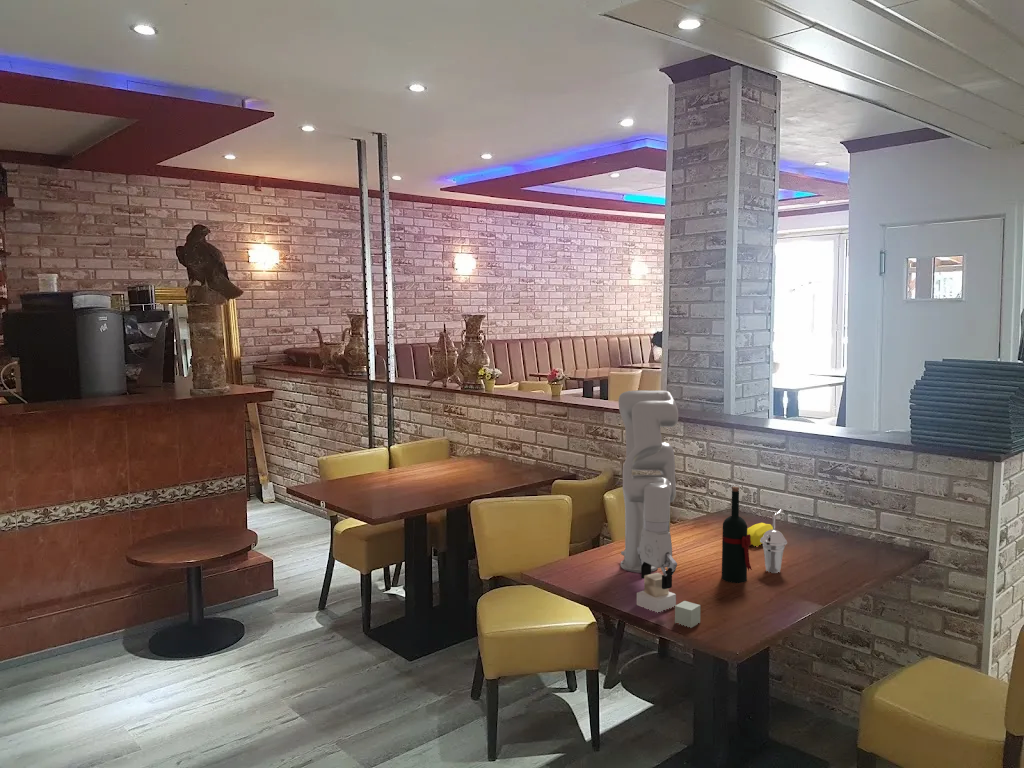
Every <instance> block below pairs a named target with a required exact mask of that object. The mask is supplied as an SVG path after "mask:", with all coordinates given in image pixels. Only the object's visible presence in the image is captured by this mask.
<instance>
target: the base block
mask: <svg viewBox="0 0 1024 768" xmlns="http://www.w3.org/2000/svg"><path fill="white" fill-rule="evenodd" d="M676 605H677V594H676V593H674V592H672V591H669V594H667V595H663V596H659V597H653V596H651V595H649V594H647V593H645V592H644V590H642V591H641V590H640V591H639V592H636V606H639V607H641V608H643V607H644V609H645V610H648V609H649V610H648V611H651V610H652V611H651V612H653V611H655V612H654V613H656V612H657V613H656V614H659V613H658V612H660V613H662V612H664V611H663V610H665V611H667V610H666V609H668V610H670V609H672V607H673V608H675V607H674V606H676ZM669 608H670V609H669ZM661 611H662V612H661Z"/></svg>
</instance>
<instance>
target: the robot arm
mask: <svg viewBox="0 0 1024 768" xmlns="http://www.w3.org/2000/svg"><path fill="white" fill-rule="evenodd" d="M618 410H619V414H620V416H621V420H622V422H623V426H624V429H625V455H626V456H625V457H626V458H625V460H624V462H623V466H622V492H623V493H622V494H623V500H624V511H625V512H624V519H625V520H624V522H625V525H624V527H625V528H624V529H625V530H624V531H625V532H624V534H625V535H624V547H625V548H624V550H621V551H620V555H622V556H623V560H621V561H620V568H621V569H622V570H624V571H627V572H632V573H640V575H641V576H640V577H641V579H642V580H643V579H644V575H649V574H652V573H653V572H655V571H656V570H658V569H660V570H661V572H662V589H668V588H669V589H671V588H673V575H674V573H675V572H676V569H677V566H678V563H677V561H676V560H675V559H674V558H673V544H672V543H673V542H672V536H671V532H670V531H671V503H673V502H674V500H675V498H676V494H677V493H676V490H677V487H676V482H677V481H676V462H675V461H676V459H675V457H676V456H675V452H674V448H673V445H671V444H670V443H668V442H665V441H663V440H662V439H663V438H662V431H661V428H672V427H676V426H677V424H678V421H679V409H678V406H677V403H676V400H675V399H674V396H673V395H672V393H671V392H669V391H668V390H658V389H657V390H655V389H654V390H644V389H642V390H627V391H624V392H622V393H620V395H619V397H618ZM632 470H633V471H642V472H643V471H644V472H645V471H658V472H660V474H632V473H633V471H632ZM666 568H667V569H666Z"/></svg>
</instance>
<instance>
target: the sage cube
mask: <svg viewBox="0 0 1024 768" xmlns="http://www.w3.org/2000/svg"><path fill="white" fill-rule="evenodd" d="M676 623H679V624H678V625H680V624H681V625H680V626H683V625H684V626H683V627H686V626H687V628H689V627H690V628H689V629H692V628H694V627H696V626H697V625H698V623H699V624H700V623H701V604H697V603H695V602H691V601H687V600H683V601H681V602H680V603H678V604H677V603H676V606H675V607H674V624H676Z"/></svg>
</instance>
